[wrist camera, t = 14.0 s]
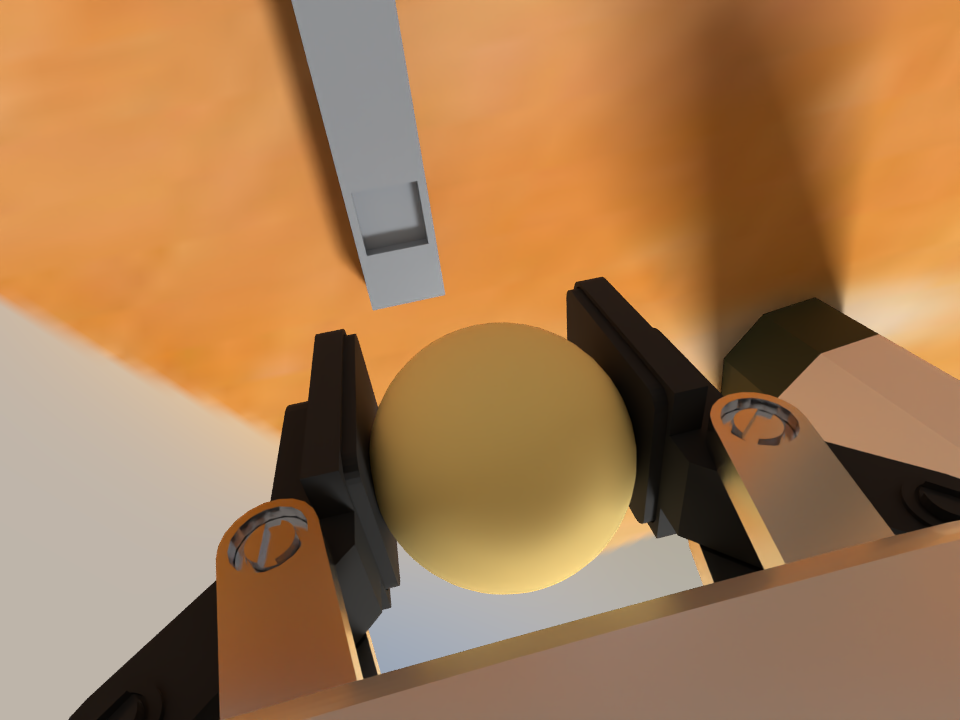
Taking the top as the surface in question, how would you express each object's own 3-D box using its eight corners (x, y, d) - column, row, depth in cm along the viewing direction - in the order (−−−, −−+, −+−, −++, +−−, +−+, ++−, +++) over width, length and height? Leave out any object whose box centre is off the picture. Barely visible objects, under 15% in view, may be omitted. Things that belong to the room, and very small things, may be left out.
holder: (342, -262, 14) (343, -298, 13) (437, 275, 23) (445, 294, 22) (228, -254, 14) (215, -290, 12) (369, 289, 23) (372, 310, 21)
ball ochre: (578, 258, 10) (713, 403, 6) (579, 434, 12) (675, 610, 9) (338, 305, 9) (332, 491, 6) (391, 478, 12) (410, 684, 8)
